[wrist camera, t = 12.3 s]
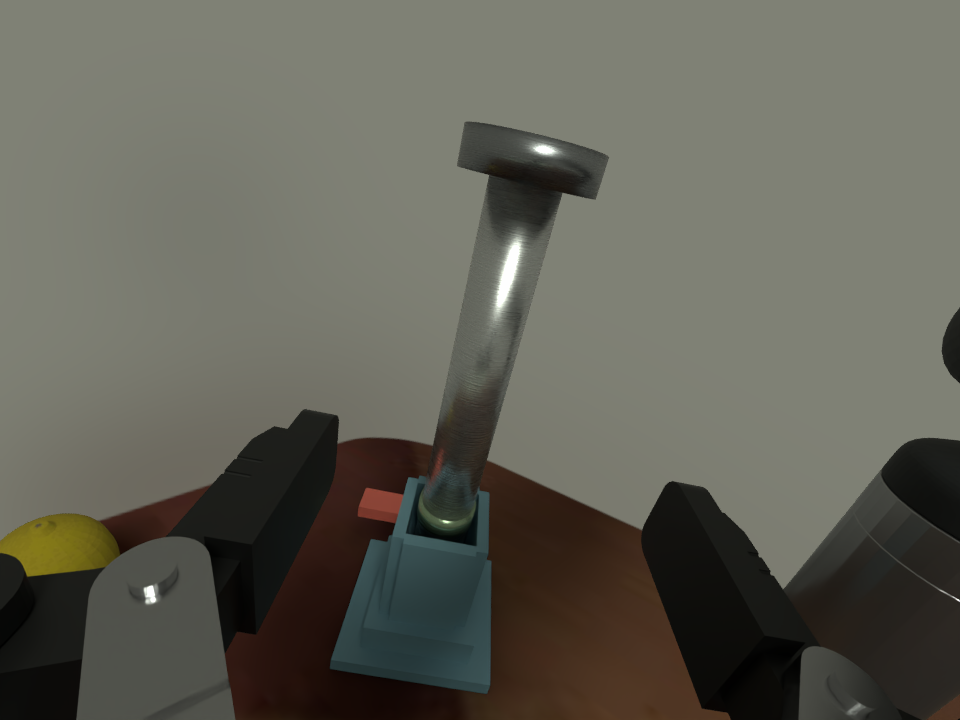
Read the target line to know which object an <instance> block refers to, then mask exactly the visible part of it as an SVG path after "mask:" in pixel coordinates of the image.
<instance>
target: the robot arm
mask: <svg viewBox="0 0 960 720" xmlns="http://www.w3.org/2000/svg"><path fill="white" fill-rule="evenodd" d="M942 355H943V360H944V364H945V366H946V367H947V369H948V371H949V373H950V374H951V375H952V376H953V377H954V378H955V379H956V380H957V381H958V382H959V383H960V308H959V309H958V311H957V312H956V313H955V315H954V316H953V318H952V319H951V321H950V323H949V325H948V327H947V329H946V332H945V335H944V337H943V344H942ZM338 426H339V419H338V416H337V415H332V414H327V413H322V412H317V411H311V410H307V409H304V410H303V411H301V413H300V414H299V415H298V416H297V418H296V419H295V420H294V422H293V423H292V424H291V425H290V427H289V428H288V429H285V428H280V427H275V426H274V427H272V428H271V429H269V430H267V431H265V432H264V433H262V434H260V435H258V436H257V437H255V438H253V439H252V440H251V441H250V442H249V443H248V445H247V446H246V447H245V448H244V449H243V450H242V451H241V452H240V454H239V455H238V457H237V459H234V460H233V462H232V463H231V464H230V465H229V466H228V467H227V468H226V469H225V472H224V474H221V475H220V476H219V477H218V478H217V480H216V481H215V482H214V483H213V484H212V485H211V486H210V488H209V489H208V490H207V491H206V492H205V493H204V494H203V496H202V497H201V498H200V499H199V500H198V501H197V502H196V503H195V505H194V506H193V507H192V508H191V509H190V510H189V511H188V513H187V514H186V515H185V516H184V517H183V518H182V519H181V521H180V522H179V523H178V524H177V525H176V526H175V527H174V528H173V530H172V531H171V532H170V533H169V534H168V535H167V536H166V537H165V538H159V539H155V540H151V541H148V542H145V543H143V544H140V545H138V546H136V547H134V548H132V549H130V550H128V551H126V552H125V553H123V554H121V555H120V556H119V557H117V558H116V559H114V560H113V561H112V562H111V563H110V564H109V565H107V566H106V567H103V568H97V569H90V570H81V571H72V572H64V573H55V574H46V575H37V576H28V577H27V574H26V572H25V570H24V567H23V565H22V563H21V562H20V561H19V560H18V559H17V558H16V557H14V556H11V555H9V554H4V553H0V720H235V714H234V708H233V701H232V695H231V689H230V684H229V680H228V674H227V668H226V661H225V653H226V651H227V649H228V647H229V645H230V644H231V642H232V640H233V638H234V636H235V634H236V633H237V632H243V633H249V634H255V635H256V634H257V632H258V630H259V628H260V626H261V624H262V622H263V620H264V618H265V617H266V615H267V613H268V611H269V609H270V607H271V605H272V603H273V601H274V599H275V597H276V595H277V593H278V591H279V589H280V587H281V585H282V583H283V581H284V579H285V577H286V575H287V573H288V571H289V569H290V567H291V565H292V563H293V561H294V559H295V557H296V555H297V553H298V552H299V550H300V548H301V546H302V544H303V542H304V540H305V538H306V536H307V534H308V532H309V530H310V528H311V526H312V524H313V522H314V520H315V518H316V516H317V514H318V512H319V510H320V508H321V506H322V504H323V502H324V500H325V498H326V496H327V494H328V492H329V490H330V487H331V484H332V481H333V478H334V473H335V468H336V455H337V441H338ZM641 542H642V549H643V553H644V556H645V558H646V561H647V564H648V566H649V569H650V572H651V574H652V577H653V580H654V582H655V585H656V588H657V590H658V593H659V595H660V598H661V601H662V603H663V606H664V609H665V611H666V614H667V617H668V619H669V622H670V625H671V627H672V630H673V633H674V635H675V638H676V641H677V643H678V646H679V649H680V651H681V654H682V657H683V659H684V662H685V665H686V667H687V670H688V672H689V675H690V678H691V680H692V683H693V686H694V688H695V691H696V694H697V696H698V699H699V702H700V704H701V707H702V709H708V710H714V711H720V712H727V713H728V714H729V716H730V718H731V720H926V719H928V718H929V717H930V716H932V715H933V714H934V713H936V712H937V711H938V710H940V709H941V708H942V707H944V706H945V705H946V704H947V703H949V702H950V701H951V700H953V699H954V698H955V697H957V696H958V695H959V694H960V441H958V440H948V439H938V438H921V439H915V440H912V441H909V442H907V443H905V444H904V445H902V446H901V447H900V448H899V449H898V450H897V451H896V452H895V453H894V455H893V456H892V457H891V458H890V459H889V461H888V462H887V463H886V464H885V465H884V467H883V468H882V470H880V472H879V473H878V474H877V475H876V476H875V478H874V479H873V480H872V481H871V483H870V484H869V485H868V486H867V487H866V489H865V490H864V491H863V492H862V494H861V495H860V496H859V497H858V498H857V500H856V501H855V503H854V504H853V505H852V506H851V507H850V509H849V510H848V511H847V512H846V514H845V515H844V516H843V517H842V518H841V520H840V521H839V522H838V523H837V525H836V526H835V527H834V528H833V530H832V531H831V532H830V533H829V534H828V536H827V537H826V538H825V539H824V540H823V542H822V543H821V544H820V545H819V547H818V548H817V549H816V550H815V552H814V553H813V554H812V555H811V556H810V558H809V559H808V560H807V561H806V563H805V564H804V565H803V566H802V568H801V569H800V570H799V571H798V572H797V574H796V575H795V576H794V577H793V578H792V580H791V581H790V582H789V583H788V585H787V586H786V587H785V588H784V589H782V588H781V586H780V585H779V583H778V582H777V580H776V579H775V577H774V576H772V575H770V570H769V568H768V567H767V565H766V564H765V562H764V561H763V559H762V558H760V557H759V556H758V552H757V550H756V549H755V547H754V546H753V544H752V543H751V541H750V540H749V538H748V537H747V535H746V534H745V532H744V531H742V530H741V529H740V528H739V527H738V526H737V525H736V524H735V523H734V522H733V521H732V520H731V519H730V518H729V517H728V516H727V515H726V514H725V513H722V512H721V510H720V509H719V507H718V506H717V504H716V502H715V501H714V499H713V498H712V496H711V495H710V493H709V492H708V490H706V489H705V488H703V487H700V486H694V485H689V484H684V483H679V482H674V481H672V482H669V483H668V484H667V485H666V486H665V487H664V489H663V491H662V492H661V494H660V496H659V498H658V500H657V502H656V504H655V505H654V507H653V509H652V511H651V513H650V515H649V517H648V519H647V520H646V522H645V524H644V527H643V530H642V537H641ZM958 720H960V719H958Z"/></svg>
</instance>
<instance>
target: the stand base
mask: <svg viewBox="0 0 960 720" xmlns="http://www.w3.org/2000/svg"><path fill="white" fill-rule="evenodd" d="M425 482H426V477H424V476H419V479H416V478H410V477H408V481H407V484H406V488H405V492H404V495H402V494H397V493H391V492H386V491H381V490H375V489H370V488H366V490H365V492H364V495H363V497H362V500H361V502H360V505H359V509H358V516H359V517H364V518H370V519H375V520H381V521H386V522H392V523H396V524H395V528H394V531H393V535H392V536H391V535H389V538H388V542H384V541H379V540H373V539H371V541H370V544H369V547H368V550H367V553H366V556H365V559H364V562H363V565H362V568H361V571H360V574H359V577H358V580H357V583H356V586H355V589H354V592H353V595H352V598H351V601H350V604H349V607H348V610H347V613H346V616H345V619H344V622H343V625H342V628H341V631H340V634H339V637H338V640H337V643H336V646H335V649H334V652H333V655H332V658H331V664H330V669H333V670H340V671H346V672H352V673H358V674H365V675H371V676H377V677H383V678H390V679H396V680H402V681H409V682H415V683H421V684H427V685H434V686H440V687H446V688H452V689H459V690H465V691H471V692H477V693H484V694H487V692H488V690H489V687H490V654H491V561H489V560H486V559H487V556H488V543H489V492H484V491H479V489H478V493H477V496H476V500H475V501H476V509H475V512H474V516H473V519H472V523H471V525H470V527H469V529H468V530H467V531H466V535H465V539H464V542H463V544H461V543H455V542H450V541H444V540H439V539H433V538H428V537H422V536H417V535H414V534H415V530H416V525H417V520H418V518H417V508H418V503H419V498H420V494H421V492H422V490H423V488H424V486H425Z"/></svg>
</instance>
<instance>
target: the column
mask: <svg viewBox="0 0 960 720" xmlns="http://www.w3.org/2000/svg"><path fill="white" fill-rule="evenodd" d="M608 159H609V157H608V156H607V155H605V154H603V153H600V152H598V151H595V150H592V149H589V148H586V147H583V146H579V145H576V144H572V143H569V142H565V141H562V140H558V139H554V138H550V137H546V136H542V135H538V134H534V133H530V132H525V131H520V130H516V129H512V128H507V127H502V126H496V125H491V124H485V123H477V122H465V123H464V129H463V135H462V141H461V146H460V152H459V158H458V163H457V166H459V167H462V168H465V169H469V170H473V171H476V172H480V173H484V174H488V175H489V179H488V184H487V189H486V193H485V199H484V203H483V208H482V213H481V217H480V223H479V227H478V232H477V237H476V242H475V246H474V252H473V256H472V261H471V266H470V270H469V275H468V280H467V285H466V290H465V294H464V299H463V304H462V309H461V313H460V319H459V323H458V328H457V333H456V338H455V342H454V347H453V352H452V357H451V362H450V367H449V371H448V377H447V381H446V386H445V390H444V395H443V401H442V405H441V410H440V415H439V419H438V424H437V429H436V434H435V438H434V444H433V448H432V453H431V458H430V462H429V467H428V472H427V477H426V482H425V486H424V488H423V490H422V492H421V494H420V498H419V503H418V508H417V518H418V520H417V525H416V530H415V534H414V535H417V536H422V537H428V538H433V539H439V540H444V541H450V542H455V543H461V544H463V542H464V539H465V535H466V531H467V530H468V529H469V527H470V525H471V523H472V519H473V516H474V512H475V509H476V501H475V500H476V496H477V493H478V489H479V486H480V482H481V479H482V475H483V471H484V468H485V464H486V461H487V457H488V454H489V450H490V447H491V443H492V440H493V436H494V433H495V429H496V425H497V422H498V418H499V415H500V411H501V407H502V404H503V401H504V397H505V394H506V390H507V387H508V383H509V380H510V376H511V373H512V369H513V366H514V362H515V359H516V355H517V351H518V348H519V344H520V341H521V337H522V334H523V330H524V327H525V323H526V320H527V316H528V313H529V309H530V305H531V302H532V298H533V295H534V291H535V288H536V285H537V281H538V277H539V274H540V270H541V267H542V263H543V259H544V256H545V253H546V249H547V245H548V241H549V239H550V235H551V232H552V228H553V225H554V221H555V217H556V214H557V210H558V207H559V203H560V200H561V196H562V193H567V194H571V195H576V196H580V197H584V198H590V199H596V197H597V193H598V190H599V187H600V184H601V181H602V177H603V175H604V171H605V168H606V165H607V162H608Z"/></svg>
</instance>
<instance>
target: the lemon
mask: <svg viewBox="0 0 960 720" xmlns="http://www.w3.org/2000/svg"><path fill="white" fill-rule="evenodd" d="M0 553H4V554H9V555H11V556H14V557H16V558H17V559H18V560H19V561H20V562H21V563H22V565H23V567H24V570H25V572H26V574H27V577H28V576H37V575H46V574H55V573H64V572H72V571H81V570H90V569H97V568H103V567H106V566H107V565H109V564H110V563H111V562H112V561H113V560H114V559H116V558H117V557H119V556H120V552H119V548H118V545H117V542H116V540H115V538H114V537H113V535H112V534H111V533H110V532H109V531H108V530H107V528H106V527H105V526H104V525H103V524H102V523H100V522H99V521H97V520H95V519H93V518H91V517H88V516H85V515H79V514H56V515H49V516H46V517H42V518H38V519H36V520H33V521H31V522H28V523H26V524H24V525H23V526H20V527H19V528H17V529H15V530H14V531H12V532H11V533H10V534H8V535H7V536H6V537H4V538H3V539H2V540H1V541H0Z"/></svg>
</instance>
